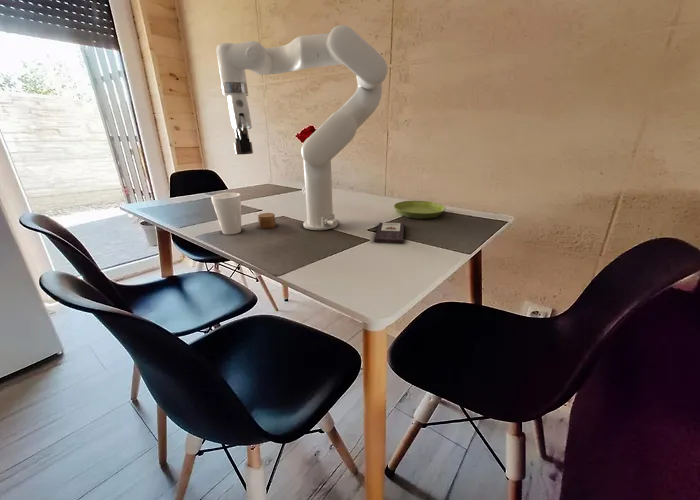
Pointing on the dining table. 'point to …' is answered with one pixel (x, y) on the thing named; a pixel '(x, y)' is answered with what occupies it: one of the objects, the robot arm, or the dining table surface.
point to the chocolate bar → (390, 233)
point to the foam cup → (228, 211)
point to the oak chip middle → (266, 217)
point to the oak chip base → (267, 225)
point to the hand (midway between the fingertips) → (244, 150)
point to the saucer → (419, 209)
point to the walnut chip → (238, 151)
